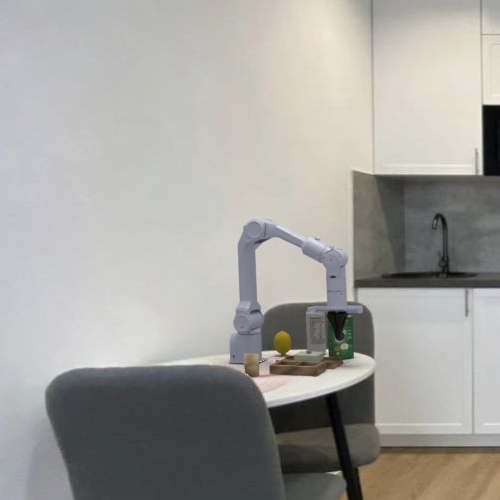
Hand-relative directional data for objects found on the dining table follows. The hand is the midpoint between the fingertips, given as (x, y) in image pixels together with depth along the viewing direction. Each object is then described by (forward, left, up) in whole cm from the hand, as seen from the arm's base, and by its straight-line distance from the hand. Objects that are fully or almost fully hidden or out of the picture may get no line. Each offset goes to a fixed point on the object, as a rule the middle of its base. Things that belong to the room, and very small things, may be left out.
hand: (338, 337), depth 209 cm
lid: (-9, 0, -7) cm, 12 cm away
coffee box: (-3, +11, -8) cm, 14 cm away
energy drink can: (-13, +17, -8) cm, 23 cm away
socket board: (-9, -11, -8) cm, 16 cm away
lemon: (-23, +13, -8) cm, 28 cm away
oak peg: (-20, -18, -8) cm, 28 cm away
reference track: (-9, 0, -8) cm, 13 cm away
